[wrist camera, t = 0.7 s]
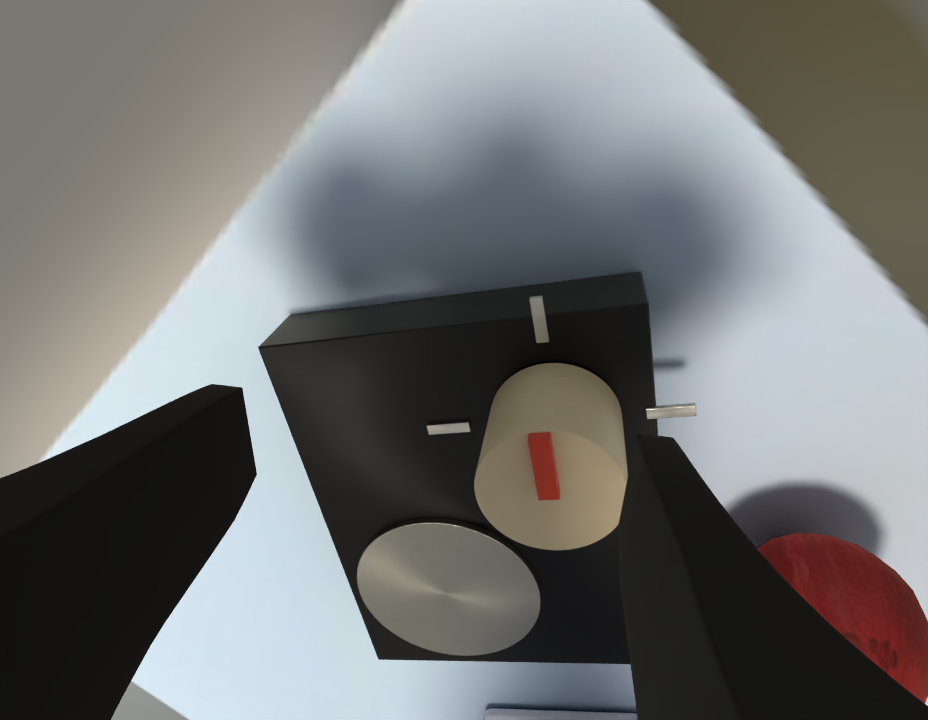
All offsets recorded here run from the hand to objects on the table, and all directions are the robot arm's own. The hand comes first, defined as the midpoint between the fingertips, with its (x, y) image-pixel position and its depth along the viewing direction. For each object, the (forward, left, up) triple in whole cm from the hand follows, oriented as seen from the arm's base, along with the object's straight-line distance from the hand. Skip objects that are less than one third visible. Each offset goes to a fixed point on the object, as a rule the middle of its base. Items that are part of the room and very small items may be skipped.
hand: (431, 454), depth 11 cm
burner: (-11, +4, -7) cm, 14 cm away
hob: (-8, +2, -10) cm, 13 cm away
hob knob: (-4, -1, -7) cm, 9 cm away
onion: (-12, -9, -10) cm, 18 cm away
